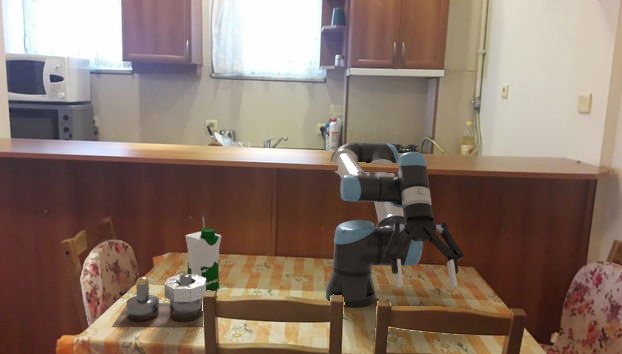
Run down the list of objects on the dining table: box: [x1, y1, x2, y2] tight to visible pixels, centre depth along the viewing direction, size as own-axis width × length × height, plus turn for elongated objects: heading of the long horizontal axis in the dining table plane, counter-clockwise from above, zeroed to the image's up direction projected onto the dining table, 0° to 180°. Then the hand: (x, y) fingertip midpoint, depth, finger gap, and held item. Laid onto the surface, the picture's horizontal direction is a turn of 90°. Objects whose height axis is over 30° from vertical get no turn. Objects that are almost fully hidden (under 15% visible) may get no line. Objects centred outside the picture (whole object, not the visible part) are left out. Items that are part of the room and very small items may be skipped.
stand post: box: [169, 273, 202, 322], centre depth 127 cm, size 8×8×11 cm
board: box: [111, 302, 204, 328], centre depth 128 cm, size 14×24×2 cm, turn 95°
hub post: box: [126, 276, 160, 322], centre depth 126 cm, size 8×8×10 cm
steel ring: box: [164, 273, 206, 302], centre depth 127 cm, size 10×10×4 cm
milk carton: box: [185, 227, 222, 291], centre depth 145 cm, size 9×9×20 cm
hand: (427, 287), depth 119 cm, fingers open, 13 cm apart
